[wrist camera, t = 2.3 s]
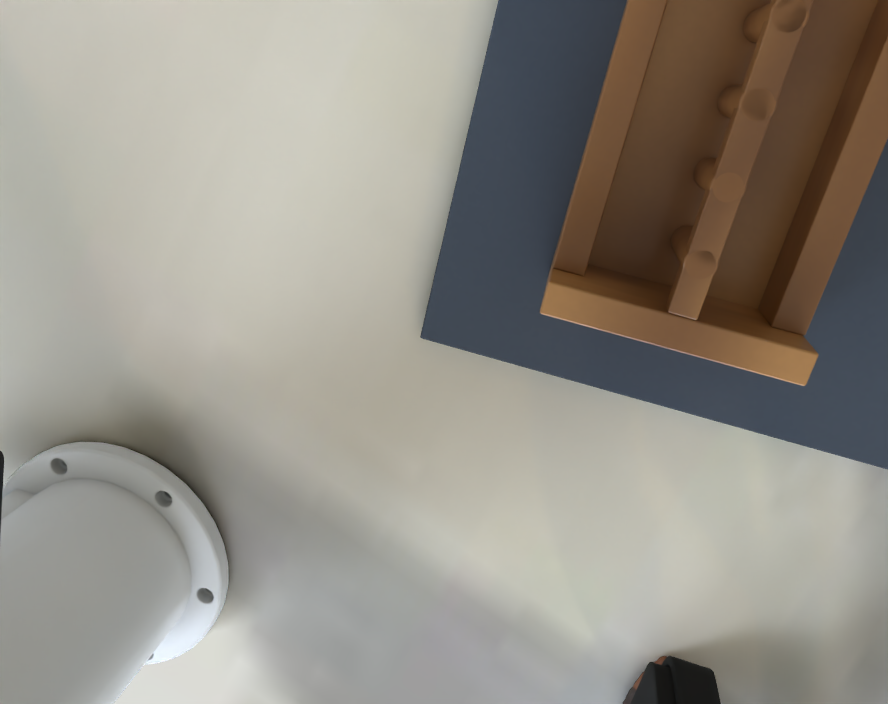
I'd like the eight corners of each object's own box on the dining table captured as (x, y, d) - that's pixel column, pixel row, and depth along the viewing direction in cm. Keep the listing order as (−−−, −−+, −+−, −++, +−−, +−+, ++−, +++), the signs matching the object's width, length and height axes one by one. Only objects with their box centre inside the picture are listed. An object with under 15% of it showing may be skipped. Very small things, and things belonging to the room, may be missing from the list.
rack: (547, 277, 32) (538, 314, 27) (677, -179, 26) (698, -244, 21) (770, 337, 31) (806, 387, 26) (954, -120, 25) (1046, -173, 20)
